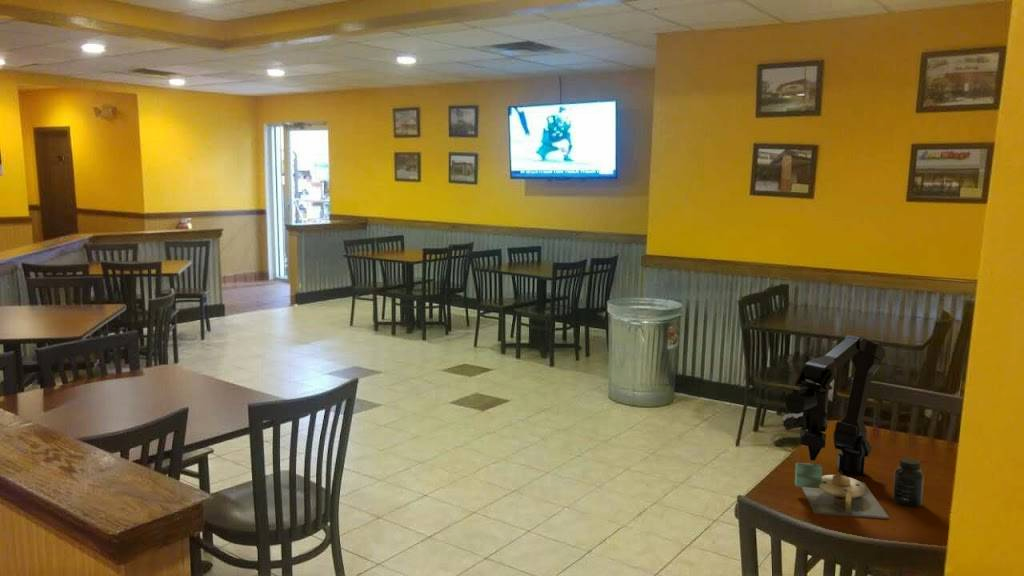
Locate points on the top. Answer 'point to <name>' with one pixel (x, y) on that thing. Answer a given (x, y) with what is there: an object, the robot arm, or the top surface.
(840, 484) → the flange
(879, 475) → the top surface
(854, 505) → the base
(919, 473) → the supplement bottle
